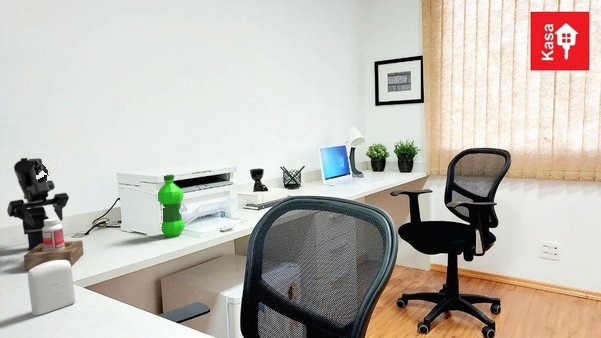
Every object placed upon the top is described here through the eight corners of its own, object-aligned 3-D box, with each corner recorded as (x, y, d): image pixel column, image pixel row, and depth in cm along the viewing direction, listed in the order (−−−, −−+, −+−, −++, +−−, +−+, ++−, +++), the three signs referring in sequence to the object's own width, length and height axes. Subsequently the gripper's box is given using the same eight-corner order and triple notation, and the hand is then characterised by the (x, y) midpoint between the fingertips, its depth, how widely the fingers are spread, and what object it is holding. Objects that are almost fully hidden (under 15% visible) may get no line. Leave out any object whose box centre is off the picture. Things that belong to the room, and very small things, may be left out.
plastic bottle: (184, 237, 180) (180, 176, 177) (157, 239, 178) (152, 177, 175) (187, 231, 190) (183, 173, 187) (161, 233, 188) (157, 174, 185)
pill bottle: (65, 247, 157) (62, 216, 156) (64, 251, 152) (61, 219, 151) (45, 249, 155) (41, 218, 153) (43, 254, 149) (40, 222, 148)
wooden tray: (25, 270, 145) (23, 255, 145) (41, 257, 159) (40, 243, 159) (71, 266, 148) (70, 251, 147) (83, 254, 162) (82, 240, 161)
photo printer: (35, 317, 110) (30, 269, 108) (29, 313, 113) (23, 266, 111) (78, 303, 118) (73, 258, 116) (71, 299, 120) (66, 255, 119)
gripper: (6, 177, 148) (23, 213, 143) (63, 170, 163) (81, 203, 157) (0, 198, 154) (16, 234, 149) (56, 190, 169) (73, 222, 163)
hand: (48, 222), depth 154 cm, fingers open, 9 cm apart
